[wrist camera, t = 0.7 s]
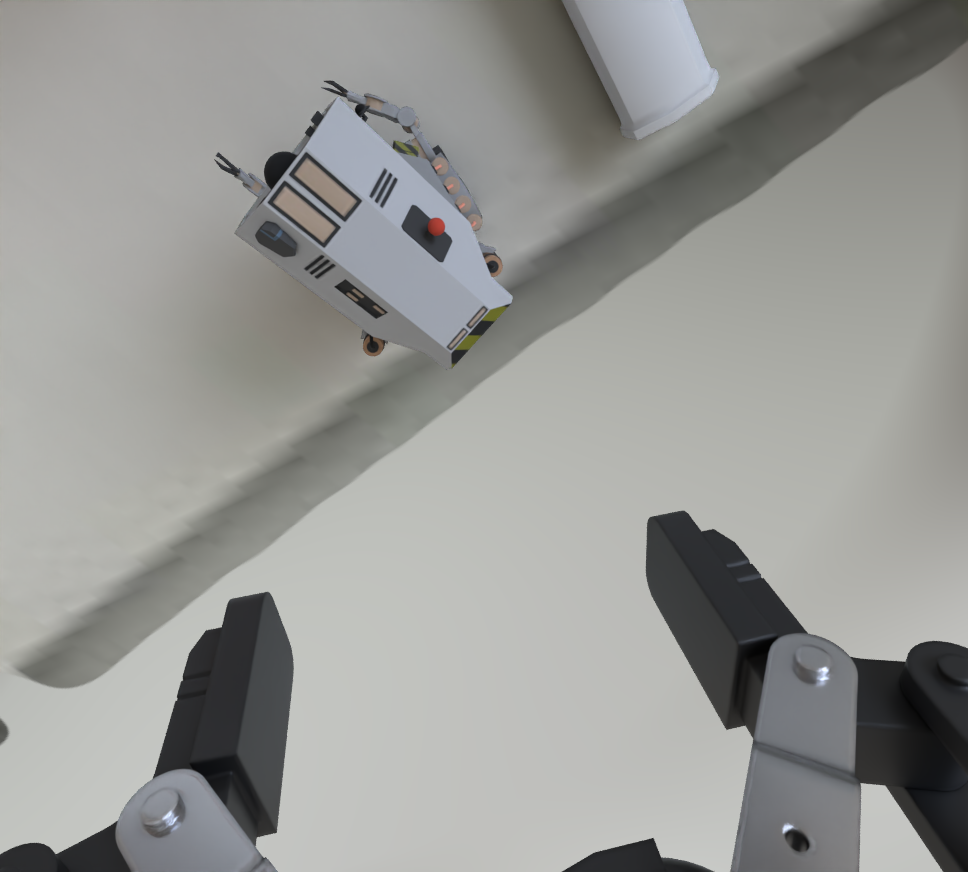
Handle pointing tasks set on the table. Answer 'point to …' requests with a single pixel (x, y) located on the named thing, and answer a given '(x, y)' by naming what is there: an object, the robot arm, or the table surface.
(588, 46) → the tube
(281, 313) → the table surface
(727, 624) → the robot arm
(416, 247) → the figurine
